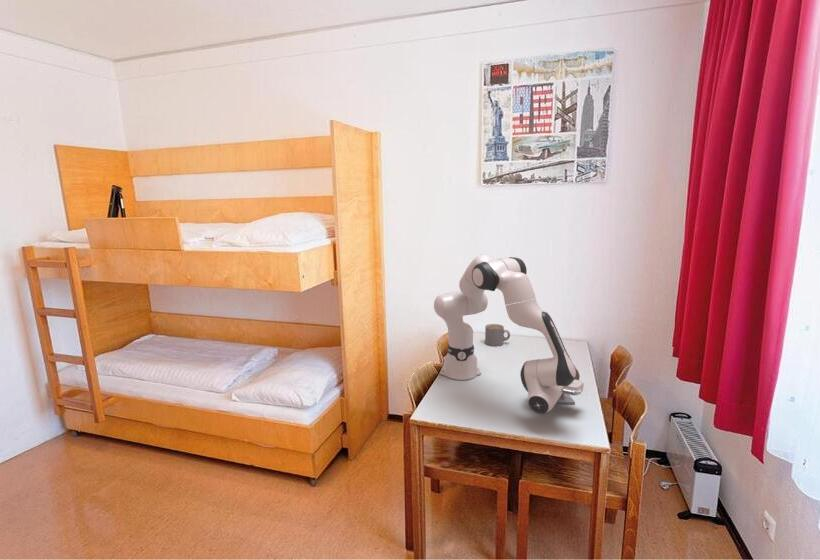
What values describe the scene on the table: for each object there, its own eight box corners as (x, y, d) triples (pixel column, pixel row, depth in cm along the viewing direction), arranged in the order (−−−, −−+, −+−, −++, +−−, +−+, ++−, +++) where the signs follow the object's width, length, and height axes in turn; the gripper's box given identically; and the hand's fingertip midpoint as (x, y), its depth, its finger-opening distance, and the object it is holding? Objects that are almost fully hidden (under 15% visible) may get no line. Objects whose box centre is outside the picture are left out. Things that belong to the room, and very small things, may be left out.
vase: (578, 381, 189) (579, 362, 187) (579, 388, 182) (581, 368, 181) (561, 380, 191) (562, 361, 189) (562, 386, 184) (563, 367, 182)
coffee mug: (483, 345, 237) (483, 328, 235) (487, 340, 246) (487, 323, 244) (508, 348, 232) (508, 330, 230) (510, 342, 241) (511, 325, 239)
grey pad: (542, 393, 178) (542, 391, 178) (566, 393, 178) (566, 391, 177) (549, 404, 168) (549, 402, 168) (574, 404, 168) (575, 402, 168)
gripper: (580, 386, 154) (587, 373, 166) (524, 374, 165) (535, 363, 177) (579, 402, 155) (586, 388, 167) (523, 390, 166) (534, 377, 178)
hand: (559, 375), depth 172 cm, fingers closed on walnut block, 4 cm apart
